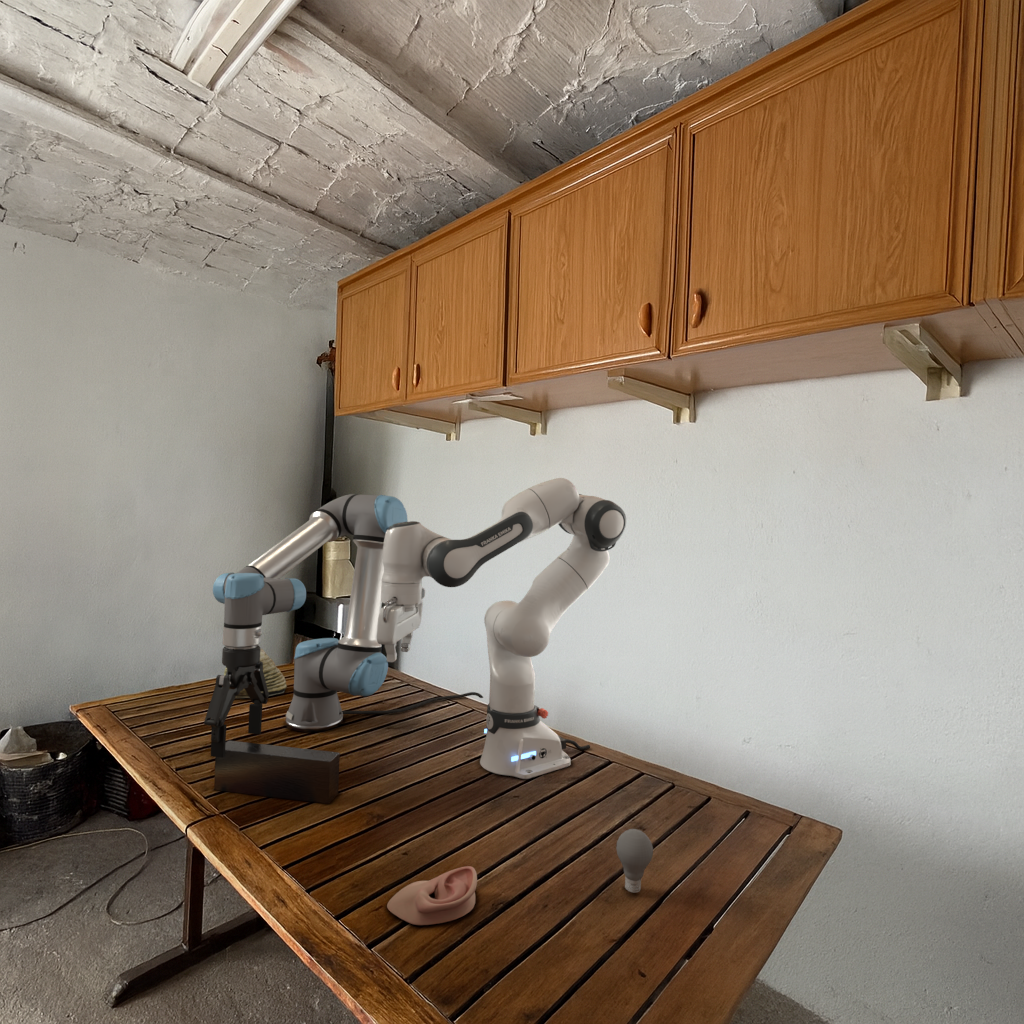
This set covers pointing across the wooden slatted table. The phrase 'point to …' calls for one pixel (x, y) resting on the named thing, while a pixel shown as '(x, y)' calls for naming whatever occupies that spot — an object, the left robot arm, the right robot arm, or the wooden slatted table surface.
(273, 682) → the fossil
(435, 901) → the anatomical model
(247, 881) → the wooden slatted table surface
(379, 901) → the wooden slatted table surface
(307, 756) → the bar
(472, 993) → the wooden slatted table surface
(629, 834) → the light bulb
